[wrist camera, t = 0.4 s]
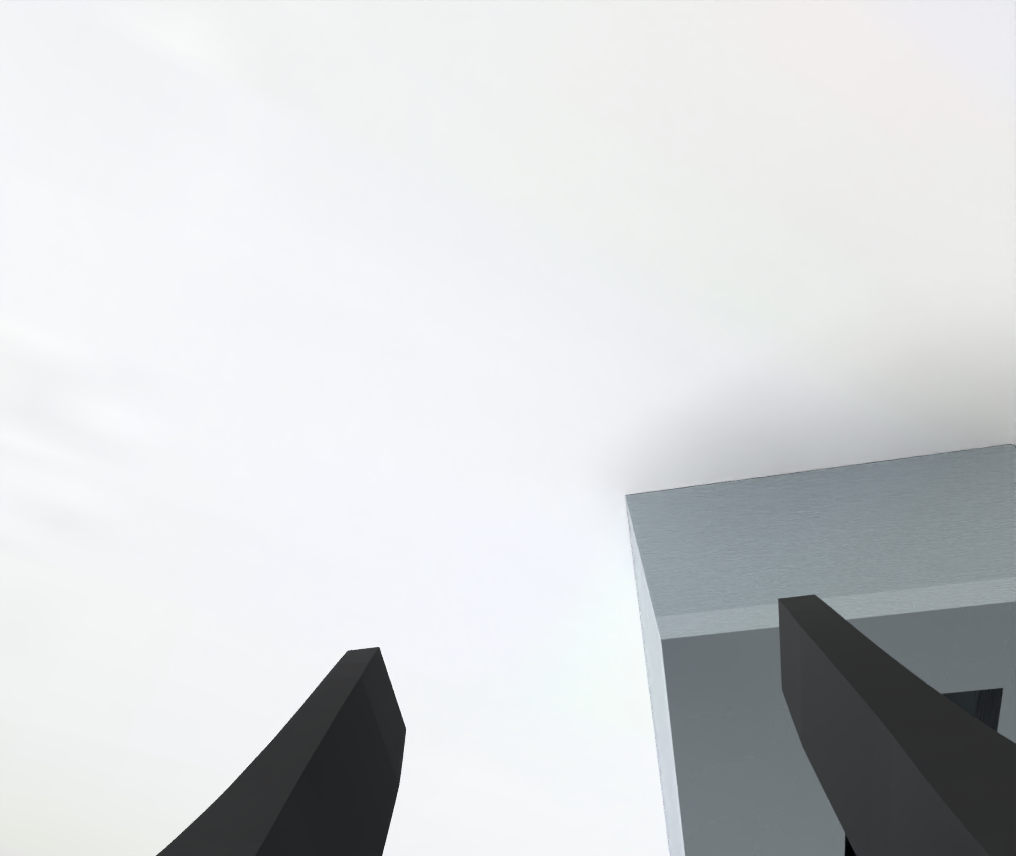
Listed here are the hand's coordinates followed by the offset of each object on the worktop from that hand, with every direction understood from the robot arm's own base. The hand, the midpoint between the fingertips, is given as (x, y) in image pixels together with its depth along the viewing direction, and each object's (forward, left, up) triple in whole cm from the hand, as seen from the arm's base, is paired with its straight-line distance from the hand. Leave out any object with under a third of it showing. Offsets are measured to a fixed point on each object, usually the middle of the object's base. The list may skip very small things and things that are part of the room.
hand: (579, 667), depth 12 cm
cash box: (-11, -8, -10) cm, 17 cm away
